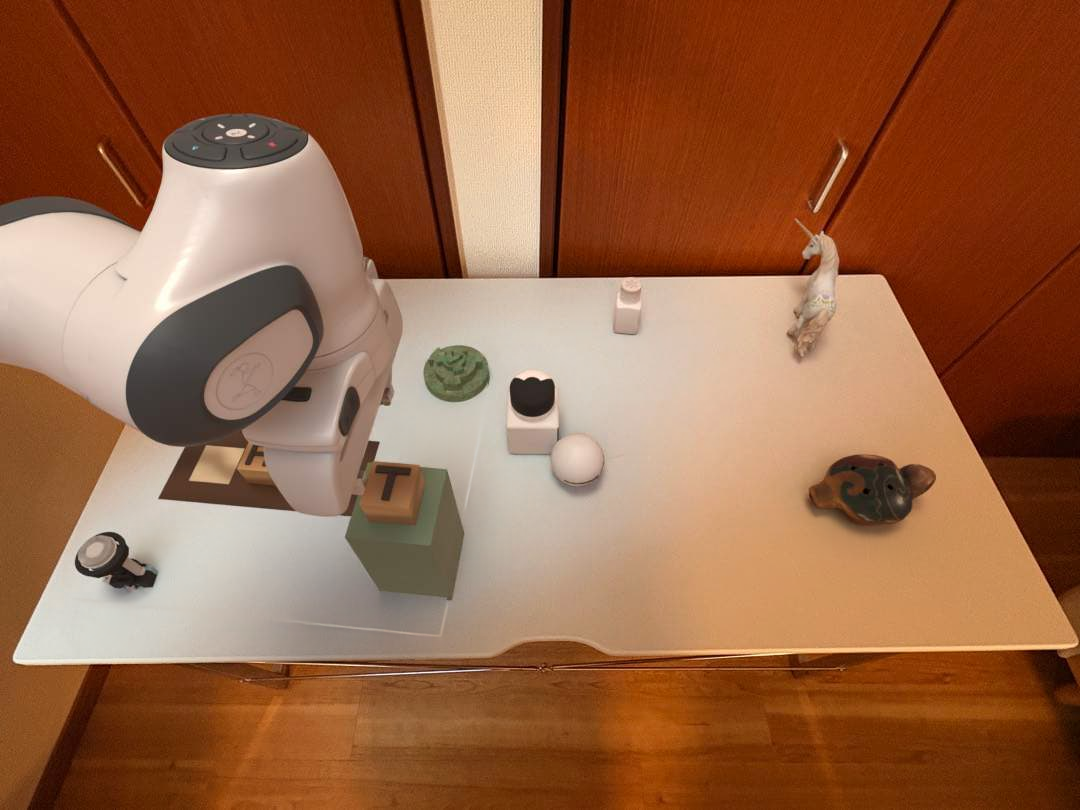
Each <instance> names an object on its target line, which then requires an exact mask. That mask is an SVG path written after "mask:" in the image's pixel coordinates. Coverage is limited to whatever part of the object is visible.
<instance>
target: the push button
mask: <svg viewBox="0 0 1080 810" xmlns="http://www.w3.org/2000/svg"><path fill="white" fill-rule="evenodd" d="M129 554H130V546H128V544H127V543H126V540H125V538H124V537H123V536H122V535H121V534H120V533H117V532H114V531H104V532H100V533H98V534H95V535H93V536H92V537H89V539H87V540H86V541H85V542H84V543H83V544H82V545H81V546H80V548H79V549H78V550H77V553H76V554H75V558H74V567H75V569H76V571H77V572H78V573H79V574H81V575H83V576H86V577H90V578H94V579H101V578H102V579H101V582H103V583H104V582H108V585H109V586H111V587H113V588H115V589H121V588H122V586H125V589H126V590H127V591H138V588H136V586H139V587H142V588H154V585H155V583H156V580H157V578H158V574H159V571H158V569H156V568H155V567H154V566H150V565H147V563H142V562H140V561H139V560H137V559H135V558H130V557H129ZM106 578H107V579H106Z"/></svg>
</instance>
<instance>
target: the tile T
mask: <svg viewBox="0 0 1080 810" xmlns="http://www.w3.org/2000/svg"><path fill="white" fill-rule="evenodd" d="M420 467H421V466H420V464H415V463H414V464H413V463H401V462H391V461H377V460H374V461H372V464H371V467H370V470H369V474H368V481H367V485H366V489H365V492H364V494H363V495H362V497H361V500H360V503H359V504H360V506H361V508H362V510H363V511H364V513H365V515H366V517H367V519H368V521H372V522H383V523H394V524H405V525H416V521H417V517H418V513H419V509H420V504H421V500H422V496H423V492H424V488H425V481H424V478H423V475H422V472H421V469H420Z"/></svg>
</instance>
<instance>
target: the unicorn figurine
mask: <svg viewBox="0 0 1080 810" xmlns="http://www.w3.org/2000/svg"><path fill="white" fill-rule="evenodd" d="M794 221H795V223H796V224H797V226H798V227H799V228H800V229H801V230H802V231H803V233H805V235H806V236H807V238H808V239H809V240H810V241H809V242H808V245H806V246H805V247H804V250H803V251H802V252H801V254H802V258H803V259H804V260H810V259H811V257H813V256H816V255H817V256H818V255H820V262H819V266H818V268H817V269H816V270H815V271H814V272H813V273H812V274H811V275H810V276H809V278H808V279H807V281H806V289H805V294H804V295H803V296H802V300H801V302H800V304H799V305H798V306H797V307H795V308H794V309H793V313H794V314H796V318H798V321H797V323H794V324H792V326H791V327H790V328H789V329H788V331H787V333H786V335H790V336H792V337H795V336H796V333H797V332H798V331H799V330H801V329H802V328H803V327H804V324H805V322H807V321H808V320H810V321H809V322H808V325H807V326H806V327H805V328H803V329H802V330H801V332H800V334H799V335H798V337H797V339H796V342H795V343H794V345H793V349H794V351H795V350H797V352H798V356H800V357H802V358H803V357H804V356H805V354H804V353H805V352H806V351H807V350H809V351H813V350H814V349H815V348H816V346H815V345H816V344H817V343H816V342H817V340H818V339H819V337H820V336H821V334H822V333H823V331H824V330H825V328H826V326H827V323H829V322H830V321H831V320H832V318H833V317H834V316H835V314H836V309H837V301H836V299H835V297H836V290H835V289H836V288H835V287H836V279H837V278H838V277H839V266H840V257H839V252H838V249H837V245H836V244H835V241H834V239H833V238H832V237H830V236H828V235H827V234H825V233H824V230H821V231H820V233H819V235H818V234H815V235H814V234H813V233H812V232H811V231H810V230H808V228H806V226H804V224H802V222H801V221H799V220H798V219H797V218H794Z"/></svg>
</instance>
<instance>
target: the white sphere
mask: <svg viewBox="0 0 1080 810" xmlns="http://www.w3.org/2000/svg"><path fill="white" fill-rule="evenodd" d="M622 456H623V454H621V455H620V457H622ZM617 457H619V455H617V456H616V458H617ZM614 458H615V456H613V457H612V459H614ZM610 459H611V458H608V460H610ZM549 460H550V466H551V470H552V472H553V474H554V475H555V477H556V478H557V479H558V480H559V481H561V483H563V484H566V485H568V486H570V487H584V486H587V485H589V484H591V483H594V481H596V480H597V479H598V478H599V476H600V474H601V472H602V471H603V469H604V466H605V455H604V452H603V448H602V446H601V445H600V444H599V442H598V441H597V440H595V438H593V437H592V436H591V435H588V434H586V433H583V432H572V433H569V434H566V435H564V436H562V437H561V438H560V439H558V442H556V444H555V446H554V447H553V450H552V453H551V454H550V459H549Z"/></svg>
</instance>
